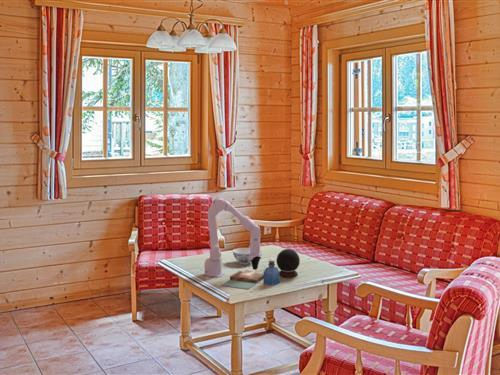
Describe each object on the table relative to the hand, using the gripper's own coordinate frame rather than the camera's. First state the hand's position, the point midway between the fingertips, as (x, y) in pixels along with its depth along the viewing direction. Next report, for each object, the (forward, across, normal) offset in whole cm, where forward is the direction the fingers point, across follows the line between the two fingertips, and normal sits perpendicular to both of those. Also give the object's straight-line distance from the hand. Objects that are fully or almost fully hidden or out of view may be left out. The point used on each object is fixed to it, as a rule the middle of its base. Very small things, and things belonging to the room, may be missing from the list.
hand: (255, 269), depth 317 cm
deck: (+3, -11, 0) cm, 11 cm away
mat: (+3, -22, 0) cm, 22 cm away
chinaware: (+3, +19, +15) cm, 25 cm away
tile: (+1, -11, 0) cm, 11 cm away
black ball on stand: (+3, +5, -18) cm, 19 cm away
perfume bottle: (+3, -13, -15) cm, 20 cm away
